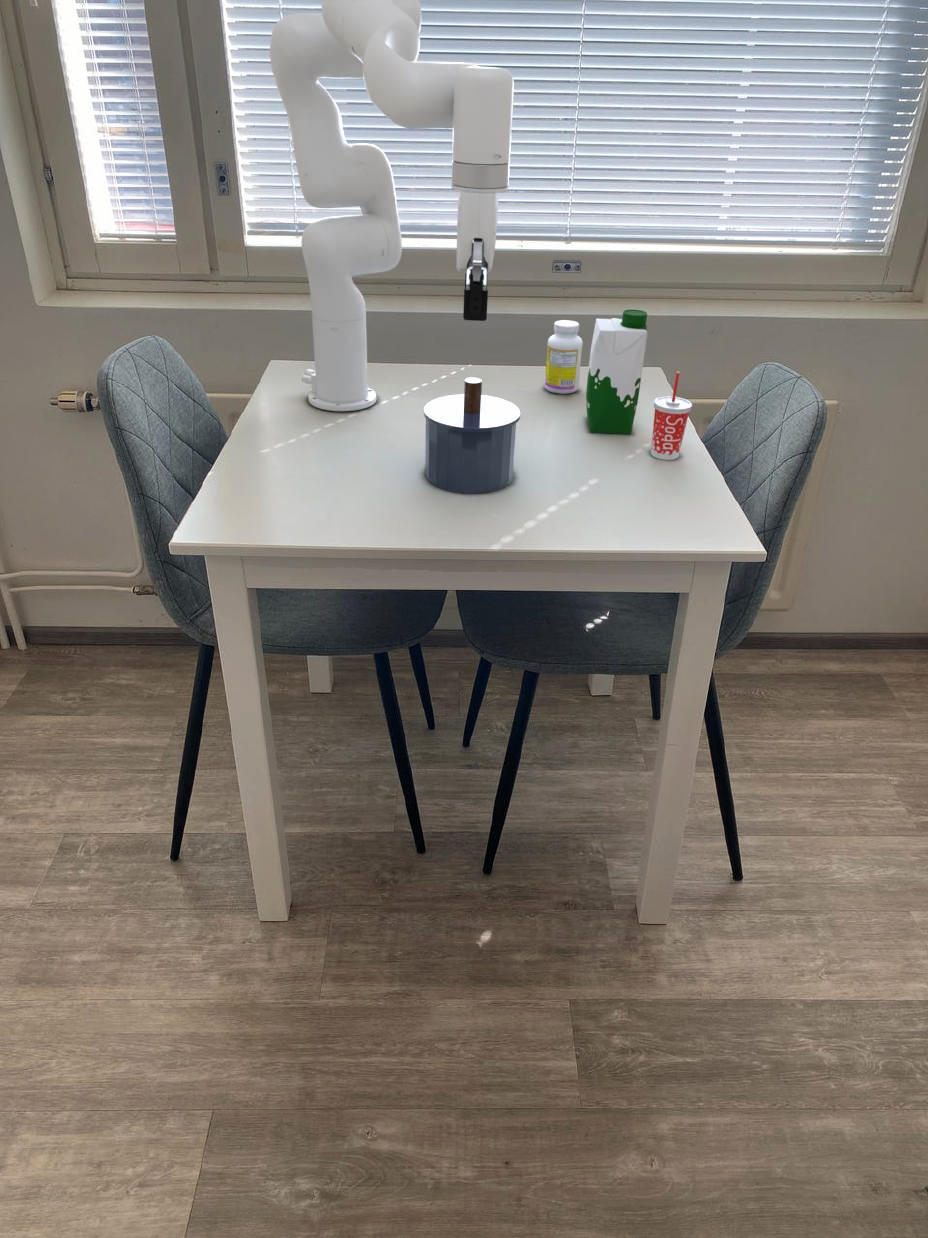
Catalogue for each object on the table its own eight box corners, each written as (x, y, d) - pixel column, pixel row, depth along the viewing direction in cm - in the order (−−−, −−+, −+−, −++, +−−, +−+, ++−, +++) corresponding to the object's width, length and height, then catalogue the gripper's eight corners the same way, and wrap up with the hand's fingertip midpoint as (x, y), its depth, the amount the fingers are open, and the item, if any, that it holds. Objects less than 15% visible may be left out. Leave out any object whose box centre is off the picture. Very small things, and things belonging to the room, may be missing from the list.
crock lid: (420, 433, 129) (420, 394, 126) (426, 399, 142) (427, 363, 138) (521, 438, 129) (523, 399, 126) (519, 403, 141) (521, 367, 138)
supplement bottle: (555, 381, 181) (561, 316, 174) (584, 388, 177) (591, 322, 170) (537, 389, 176) (542, 323, 169) (566, 397, 173) (573, 329, 166)
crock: (422, 491, 135) (423, 428, 129) (428, 456, 146) (429, 396, 141) (512, 495, 135) (517, 432, 129) (511, 460, 146) (515, 400, 141)
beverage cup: (643, 458, 149) (655, 374, 141) (649, 445, 154) (662, 364, 146) (680, 464, 147) (694, 380, 139) (685, 450, 152) (700, 369, 144)
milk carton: (636, 436, 157) (653, 319, 146) (584, 434, 157) (597, 317, 146) (630, 418, 164) (645, 306, 153) (581, 416, 164) (592, 304, 153)
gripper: (453, 167, 125) (450, 294, 134) (449, 185, 110) (446, 326, 120) (507, 169, 125) (500, 296, 134) (510, 187, 110) (502, 328, 120)
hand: (475, 310), depth 127 cm, fingers open, 9 cm apart
